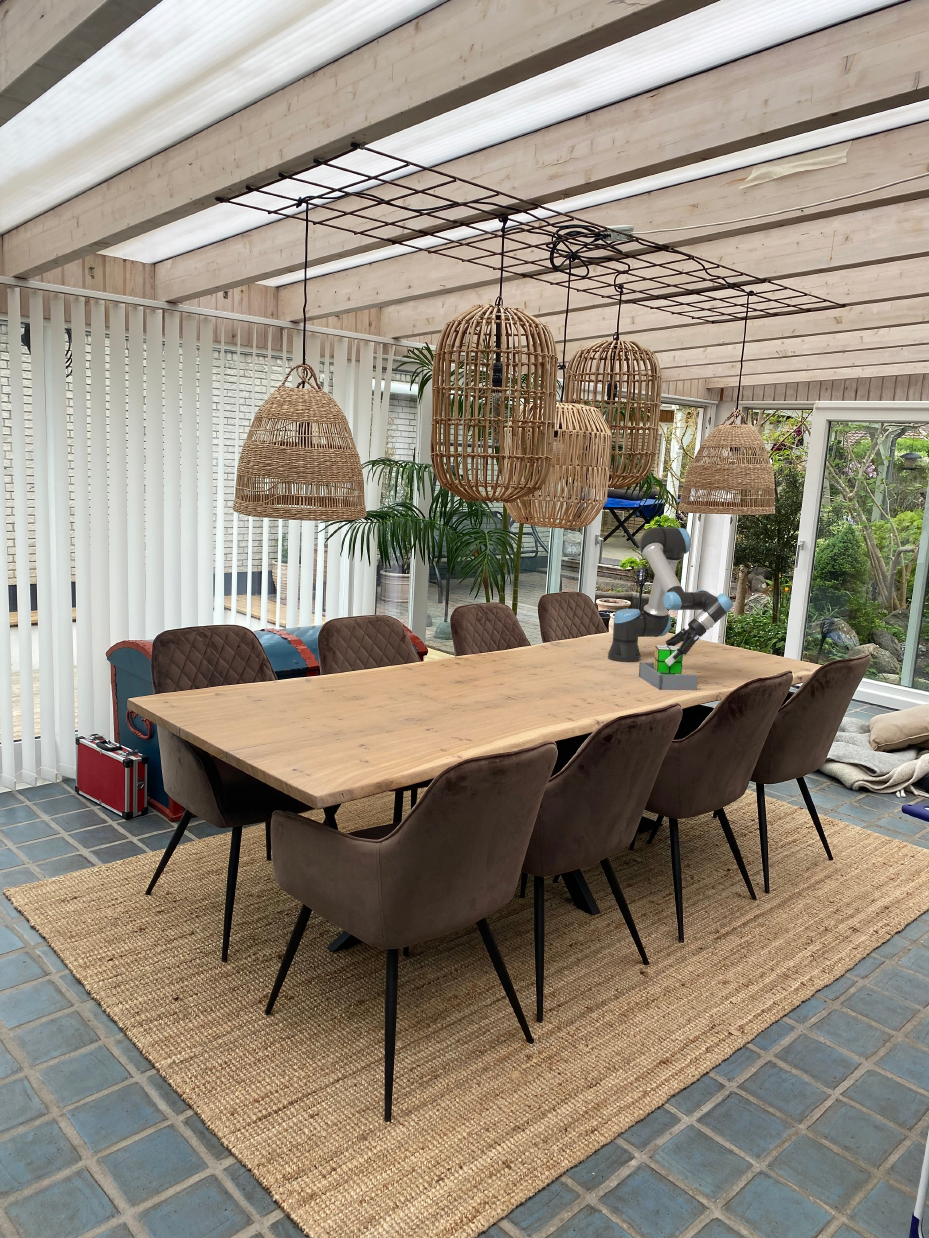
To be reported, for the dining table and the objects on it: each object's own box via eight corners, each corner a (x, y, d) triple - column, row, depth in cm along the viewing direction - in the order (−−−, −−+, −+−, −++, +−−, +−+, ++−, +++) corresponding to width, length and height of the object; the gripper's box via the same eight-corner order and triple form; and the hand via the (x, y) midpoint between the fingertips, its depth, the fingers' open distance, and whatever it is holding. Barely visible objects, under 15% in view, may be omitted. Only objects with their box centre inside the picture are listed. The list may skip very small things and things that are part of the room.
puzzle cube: (677, 669, 374) (679, 646, 372) (681, 674, 364) (683, 650, 362) (653, 668, 374) (654, 645, 373) (656, 673, 364) (658, 649, 363)
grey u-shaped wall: (638, 676, 381) (639, 662, 380) (673, 676, 383) (674, 662, 382) (659, 689, 356) (660, 675, 355) (696, 690, 358) (697, 675, 358)
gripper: (718, 636, 357) (678, 673, 357) (695, 625, 380) (657, 660, 380) (706, 622, 355) (666, 660, 356) (684, 613, 378) (646, 648, 379)
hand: (661, 660), depth 368 cm, fingers closed on puzzle cube, 11 cm apart
